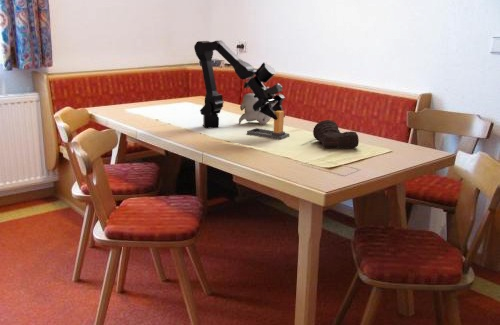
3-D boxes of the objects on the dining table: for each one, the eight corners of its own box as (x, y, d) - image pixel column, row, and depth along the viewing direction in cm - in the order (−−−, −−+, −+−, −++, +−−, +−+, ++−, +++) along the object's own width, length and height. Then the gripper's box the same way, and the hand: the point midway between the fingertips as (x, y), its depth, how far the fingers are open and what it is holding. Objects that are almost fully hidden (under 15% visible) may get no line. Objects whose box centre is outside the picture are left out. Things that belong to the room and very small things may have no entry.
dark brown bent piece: (360, 132, 191) (347, 118, 204) (324, 135, 188) (313, 120, 202) (358, 154, 195) (345, 139, 208) (322, 157, 193) (312, 141, 206)
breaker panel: (243, 136, 211) (243, 131, 210) (257, 131, 220) (257, 127, 220) (279, 142, 201) (279, 138, 201) (292, 137, 211) (292, 132, 211)
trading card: (344, 175, 160) (300, 164, 172) (344, 177, 160) (300, 165, 172) (360, 169, 168) (318, 158, 179) (360, 170, 168) (318, 160, 180)
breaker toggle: (271, 136, 207) (272, 111, 204) (276, 134, 211) (277, 110, 208) (279, 138, 205) (280, 112, 202) (284, 136, 209) (285, 111, 206)
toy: (237, 126, 232) (278, 127, 228) (236, 94, 228) (278, 95, 224) (241, 122, 240) (281, 124, 236) (240, 91, 236) (281, 92, 232)
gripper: (259, 79, 196) (282, 109, 193) (282, 75, 211) (303, 103, 208) (243, 96, 202) (264, 126, 199) (265, 91, 217) (286, 119, 215)
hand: (280, 118), depth 205 cm, fingers open, 6 cm apart
